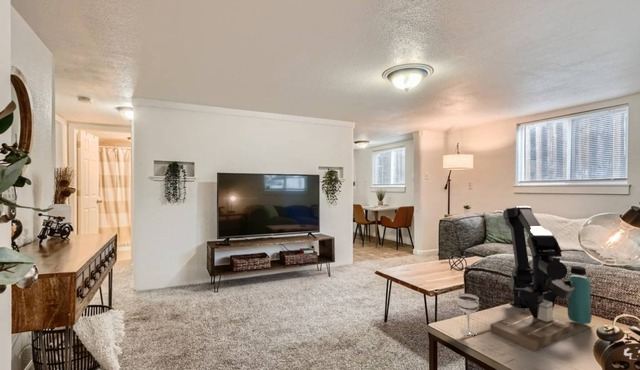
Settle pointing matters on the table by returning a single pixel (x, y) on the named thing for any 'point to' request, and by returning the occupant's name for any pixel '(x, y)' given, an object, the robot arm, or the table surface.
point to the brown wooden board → (531, 330)
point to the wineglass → (468, 309)
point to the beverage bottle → (579, 297)
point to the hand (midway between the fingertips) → (542, 314)
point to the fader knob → (545, 311)
